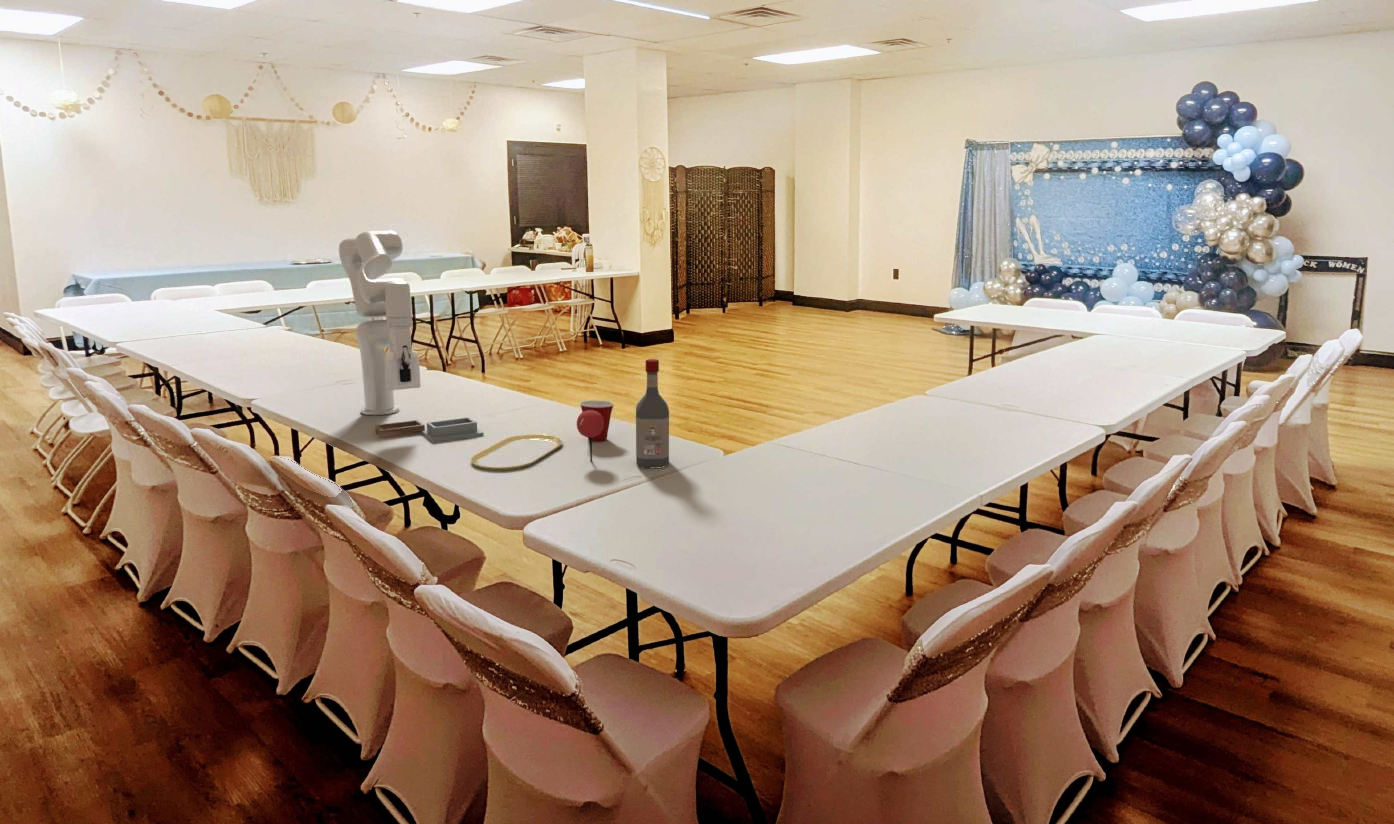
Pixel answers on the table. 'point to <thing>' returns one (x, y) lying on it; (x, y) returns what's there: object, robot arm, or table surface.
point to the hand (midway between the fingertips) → (403, 379)
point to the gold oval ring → (510, 439)
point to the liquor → (652, 423)
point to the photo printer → (394, 372)
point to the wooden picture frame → (399, 429)
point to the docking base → (451, 429)
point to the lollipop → (590, 425)
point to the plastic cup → (605, 412)
